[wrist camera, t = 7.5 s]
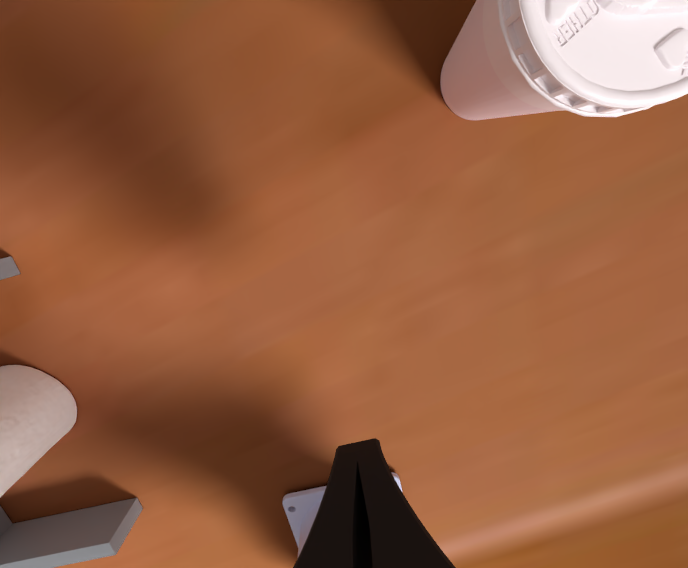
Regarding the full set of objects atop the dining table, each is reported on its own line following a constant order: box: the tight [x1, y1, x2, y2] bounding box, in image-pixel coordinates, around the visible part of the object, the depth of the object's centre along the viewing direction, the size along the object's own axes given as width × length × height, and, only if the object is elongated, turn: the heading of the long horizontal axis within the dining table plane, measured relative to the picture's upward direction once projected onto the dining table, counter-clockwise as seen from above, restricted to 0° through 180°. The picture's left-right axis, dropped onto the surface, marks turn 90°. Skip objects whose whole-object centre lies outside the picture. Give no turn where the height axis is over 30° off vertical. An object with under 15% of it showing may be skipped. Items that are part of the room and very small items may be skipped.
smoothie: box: [440, 0, 688, 120], centre depth 10 cm, size 6×6×14 cm
